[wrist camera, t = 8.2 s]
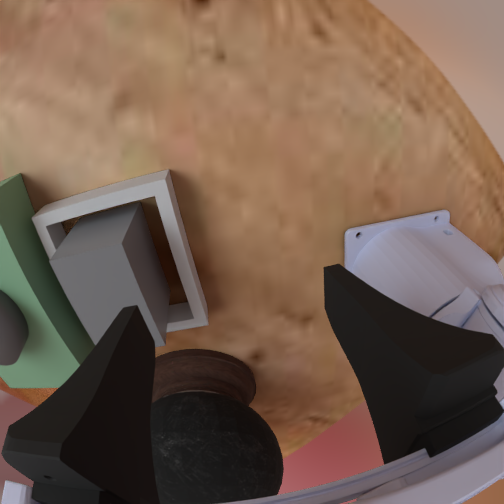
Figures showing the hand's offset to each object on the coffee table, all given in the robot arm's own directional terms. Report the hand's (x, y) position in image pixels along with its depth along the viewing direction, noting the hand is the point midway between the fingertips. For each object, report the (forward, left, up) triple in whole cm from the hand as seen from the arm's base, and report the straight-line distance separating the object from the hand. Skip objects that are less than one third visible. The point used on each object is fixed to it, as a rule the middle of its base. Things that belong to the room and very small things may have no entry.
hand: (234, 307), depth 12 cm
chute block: (+7, +2, -10) cm, 12 cm away
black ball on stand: (+6, +17, -10) cm, 20 cm away
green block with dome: (+13, +2, -9) cm, 16 cm away
